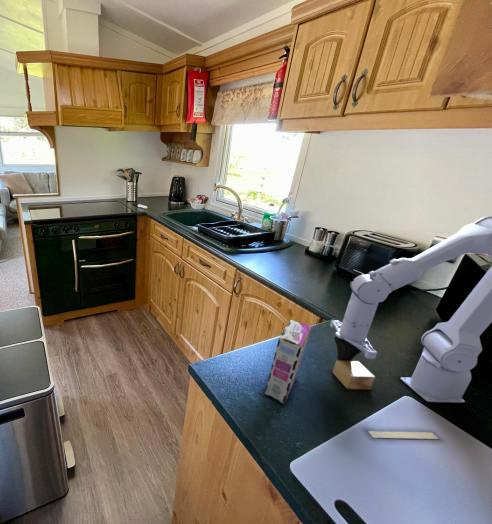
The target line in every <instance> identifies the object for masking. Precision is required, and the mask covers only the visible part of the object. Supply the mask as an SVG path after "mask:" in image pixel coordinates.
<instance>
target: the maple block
mask: <svg viewBox="0 0 492 524" xmlns="http://www.w3.org/2000/svg"><path fill="white" fill-rule="evenodd" d="M332 369H333V370H332V374H333V375H334V376H335V377H336V378H337V380H339V382H340V383H341V384H342V385H343V386H344V387H345V388H346V389H347V390H372V387H373V384H374V381H375V379H376V376H375V375H374V374H373V373H372V372H371V371H370V370H369V369H368V368H366V367H365V366H364V365H363V364H362V363H361V362H360V361H359V360H351V361H338V359H337V360H336V361H335V363H334V366H333V368H332Z"/></svg>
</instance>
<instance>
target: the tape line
mask: <svg viewBox="0 0 492 524" xmlns="http://www.w3.org/2000/svg"><path fill="white" fill-rule="evenodd" d="M367 433H368V434H369V435H370V436H371V437H372V438H373V439H411V440H416V439H418V440H439V437H437V435H435V434H434V433H433V432H429V431H428V432H426V431H425V432H424V431H386V430H385V431H383V430H382V431H381V430H380V431H379V430H368V431H367Z"/></svg>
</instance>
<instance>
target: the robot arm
mask: <svg viewBox="0 0 492 524" xmlns="http://www.w3.org/2000/svg"><path fill="white" fill-rule="evenodd" d="M465 254H483V255H487V256H488V257H489V259H490V261H491V262H492V215H491V216H485V217H482V218H479V219H477V220H476V221H475V222H473V223H469V224H466V225H464V226H463V227H462V228H461V229H460V230H459V231H458V232H456V233H455V234H453V235H451V236H449V237H448V238H446V239H444V240H443V241H441V242H439V243H437V244H435V245H433V246H432V247H430V248H428V249H426V250H425V251H423V252H421V253H419V254H417V255H415V256H414V257H411V258H410V257H409V258H407V257H400V258H398V259H396V258H392V259H391V260H389V263H388V264H386V265H384V266H382V267H380V268H378V269H376V270H370V271H369V272H368V273H367V274H360V275H358V276H356V277H355V278H353V280H352V281H350V283H349V284H350V289H351V290H352V292H351V295H350V298H349V300H348V303H347V306H346V310H345V313H344V316H343V318H342V322H341V321H340V320H338V319H336V320H335V319H331V321H330V324H329V326H330V328H332V329H335V331H336V332H335V334H334V336H335V337H334V341H335V345H336V351H337V361H353V359H354V358H356V356H358V355H359V354H361V353H363V354H364V355H363V356H364V357H365V358H366V359H369V360H375V359H376V357H377V354H378V351H376V349H374V348H373V346H372V344H371V343H370V341H369V340H368V339H367V337H368V334H369V331H370V329H371V326H372V323H373V320H374V318H375V315H376V311H377V309H378V306H379V304H380V303H383V302H384V301H385V300H387V298H388V296H389V294H392V292H393V291H394V292H395V291H396V290H398V289H399V288H403V287H405V286H407V285H409V284H411V283H413V282H415V281H418V280H419V279H421V277H422V275H423V272H424V271H426V270H428V269H431V268H434V267H437V266H439V265H441V264H443V263H446V262H449V261H450V260H453V259H456V258H458V257H461V256H463V255H465ZM491 324H492V265H491V266H490V268H488V270H487V271H486V273H485V274H484V276H483V277H482V278H481V279H480V280H479V281H478V283H477V284H476V285H475V287H473V289H472V290H471V292H470V293H469V294H468V295H467V297H466V298H465V300H464V301H463V302H462V303H461V304H460V306H459V307H458V309H456V311H455V312H454V313H453V314H452V316H451V317H450V319H448V321H444V322H438V323H436V325H434V327H433V328H431V329H430V330H427V331H426V332H425V333H423V334H422V336H421V338H420V343H421V344H422V346H423V350H422V352H421V355H420V357H419V360H418V362H417V364H416V366H415V369H414V370H413V373H412V376H411V377H409V376H408V377H407V376H406V377H405V376H404V377H403V376H401V377H400V380H401V381H402V382H403V383H404V384H405V385H407V387H409V388H410V389H411V390H412V391H414V392H415V393H416V394H417V395H418V396H420V398H422V399H423V400H425V401H426V402H428V403H452V404H453V403H454V404H457V403H458V404H459V403H461V404H464V403H465V402H466V400H464V399H463V396H464V394H465V392H466V391H467V389H468V387H469V385H470V383H471V381H472V372H471V370H472V369H474V368H475V367H476V366H477V364H478V358H479V355H480V354H481V353H482V351H483V347H482V343H481V338H480V337H481V335H482V334H483V333H484V332H485V330H486V329H487V328H488V327H489V326H490V325H491Z"/></svg>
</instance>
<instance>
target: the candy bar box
mask: <svg viewBox="0 0 492 524" xmlns="http://www.w3.org/2000/svg"><path fill="white" fill-rule="evenodd" d="M311 330H312V326H310V325H308V324H304V323H302V322H300V321H296V320H293V319H290V320H289V322H288V324H287V325H286V326H285V328H284V329H283V331H282V332H281V333H280V335H279V337H278V340H277V345H276V348H275V353H274V355H273V360H272V364H271V368H270V371H269V375H268V379H267V382H266V386H265V391H264V395H265V396H267V397H270V398H271V399H273V400H275V401H277V402H279V403H281V404H283V405H285V404H286V402H287V400H288V397H289V395H290V393H291V391H292V389H293V386H294V384H295V381H296V379H297V376H298V373H299V370H300V366H301V363H302V362H301V361H302V359H303V356H304V352H305V349H306V346H307V342H308V339H309V336H310V333H311Z"/></svg>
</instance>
